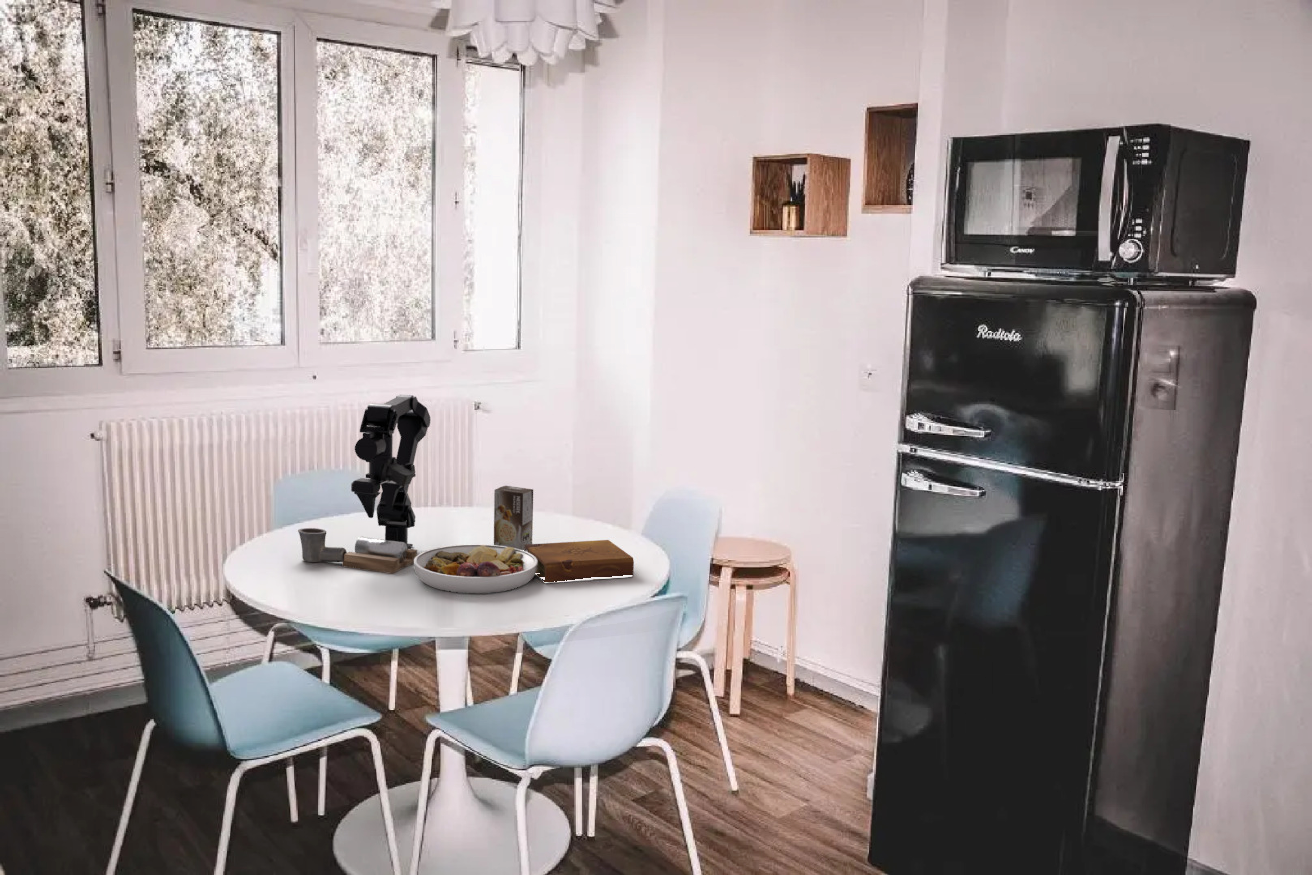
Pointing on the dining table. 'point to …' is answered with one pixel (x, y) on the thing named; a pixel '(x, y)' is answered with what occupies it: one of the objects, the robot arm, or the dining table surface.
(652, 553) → the dining table surface
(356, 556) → the v block
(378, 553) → the silver cylinder
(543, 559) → the wooden box
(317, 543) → the pipe
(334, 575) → the dining table surface
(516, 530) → the coffee box
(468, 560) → the bowl
